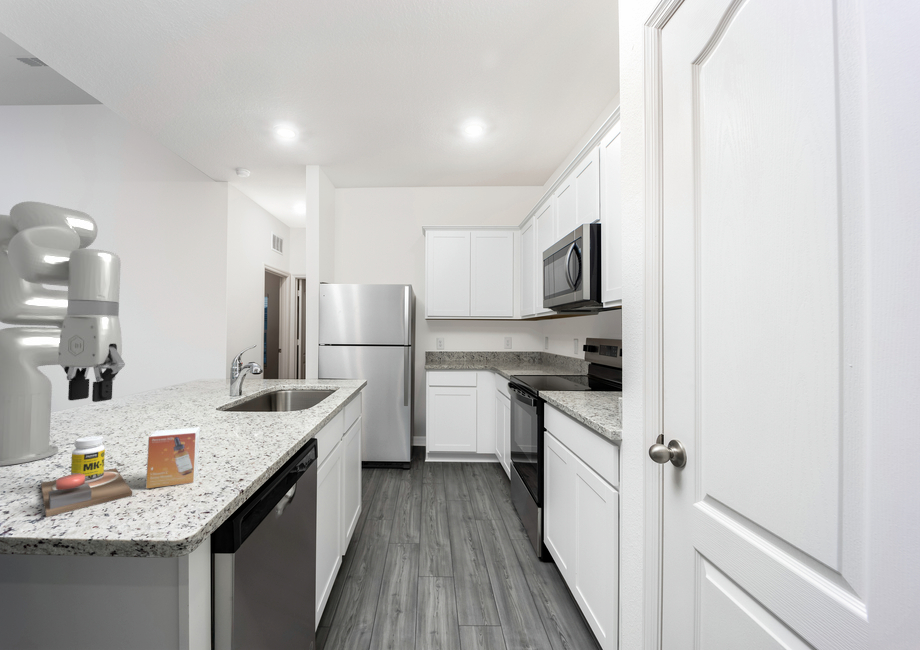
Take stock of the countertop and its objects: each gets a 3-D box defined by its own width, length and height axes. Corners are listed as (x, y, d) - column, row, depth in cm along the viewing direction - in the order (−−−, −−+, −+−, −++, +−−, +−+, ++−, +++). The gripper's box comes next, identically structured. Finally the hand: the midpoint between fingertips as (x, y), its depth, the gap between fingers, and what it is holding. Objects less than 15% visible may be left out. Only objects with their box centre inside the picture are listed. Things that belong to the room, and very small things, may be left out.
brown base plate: (41, 487, 74) (41, 474, 74) (115, 471, 82) (116, 460, 83) (46, 516, 62) (46, 502, 63) (132, 495, 71) (132, 483, 71)
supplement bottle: (82, 486, 72) (84, 442, 73) (63, 483, 73) (65, 440, 73) (110, 476, 77) (111, 436, 77) (92, 474, 78) (93, 434, 78)
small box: (145, 490, 74) (147, 436, 74) (152, 479, 79) (154, 429, 79) (194, 483, 77) (196, 432, 78) (198, 473, 82) (200, 426, 83)
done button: (55, 485, 67) (55, 477, 67) (83, 479, 70) (83, 472, 70) (56, 491, 65) (56, 483, 65) (85, 485, 67) (86, 477, 67)
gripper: (37, 309, 74) (33, 401, 73) (107, 310, 71) (104, 405, 70) (81, 311, 81) (78, 395, 81) (147, 312, 78) (144, 398, 78)
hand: (90, 399), depth 75 cm, fingers open, 5 cm apart
